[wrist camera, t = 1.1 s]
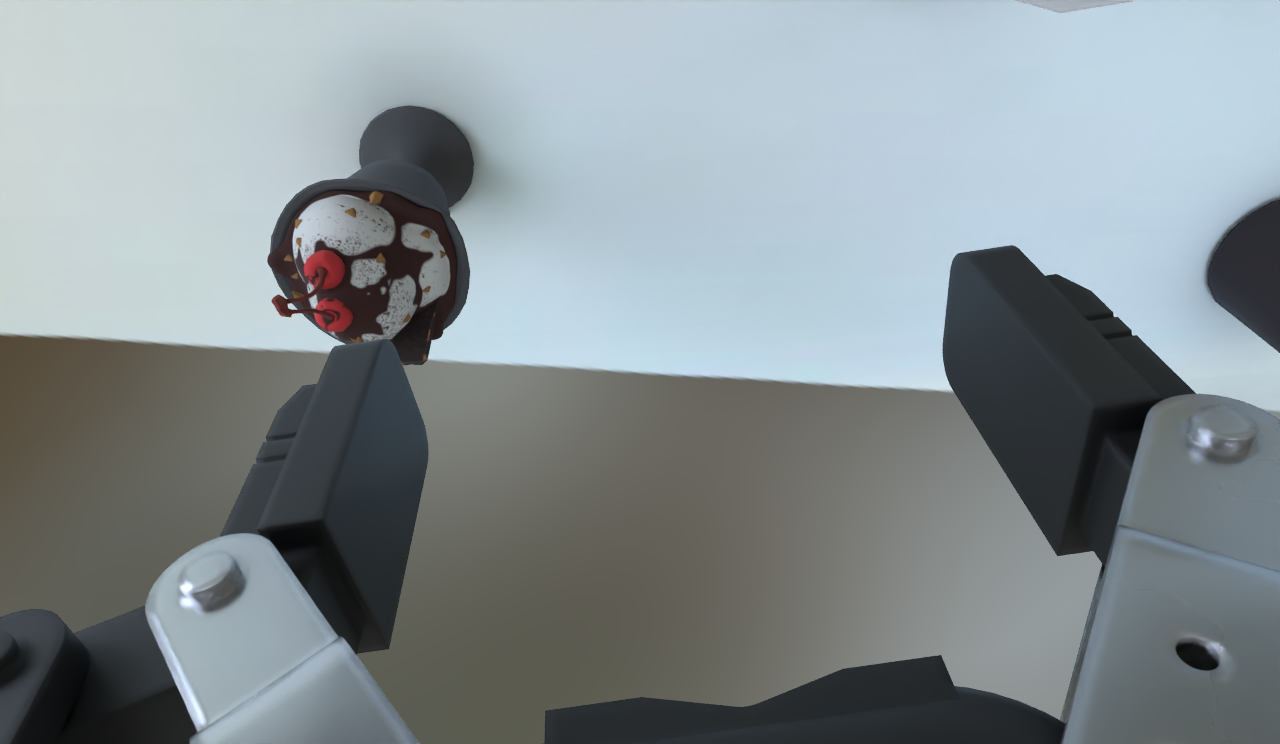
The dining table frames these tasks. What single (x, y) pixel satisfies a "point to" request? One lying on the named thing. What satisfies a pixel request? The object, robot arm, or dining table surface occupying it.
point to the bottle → (1251, 273)
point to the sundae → (381, 238)
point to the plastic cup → (1071, 4)
